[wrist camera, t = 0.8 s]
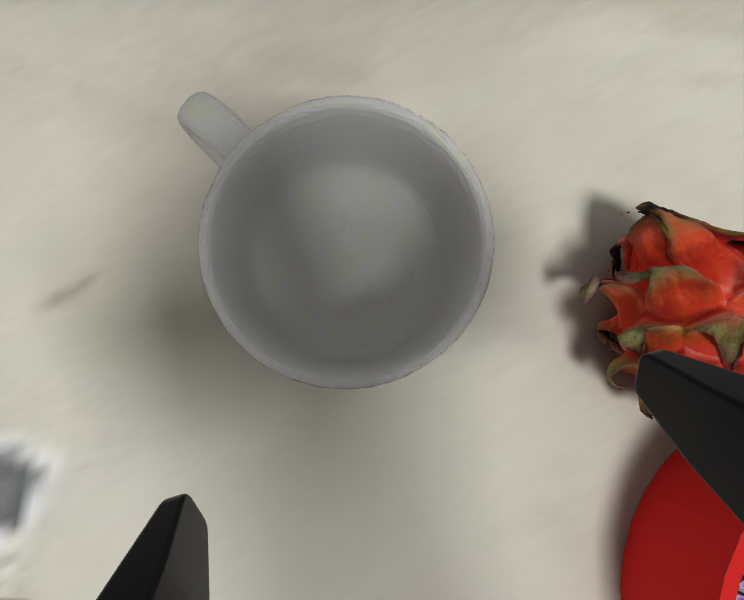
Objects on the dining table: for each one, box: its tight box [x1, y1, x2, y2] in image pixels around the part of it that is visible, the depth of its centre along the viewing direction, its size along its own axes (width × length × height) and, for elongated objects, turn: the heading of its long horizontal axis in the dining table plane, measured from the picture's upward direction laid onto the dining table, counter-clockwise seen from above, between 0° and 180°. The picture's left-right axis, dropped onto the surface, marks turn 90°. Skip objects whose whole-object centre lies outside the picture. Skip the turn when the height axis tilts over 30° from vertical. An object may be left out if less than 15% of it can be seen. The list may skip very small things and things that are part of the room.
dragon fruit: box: [580, 202, 744, 419], centre depth 21 cm, size 8×8×12 cm
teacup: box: [178, 92, 494, 389], centre depth 19 cm, size 14×11×8 cm
